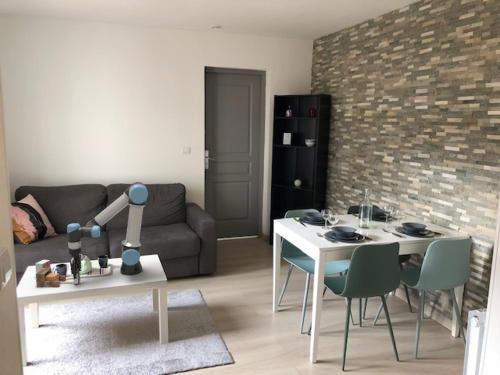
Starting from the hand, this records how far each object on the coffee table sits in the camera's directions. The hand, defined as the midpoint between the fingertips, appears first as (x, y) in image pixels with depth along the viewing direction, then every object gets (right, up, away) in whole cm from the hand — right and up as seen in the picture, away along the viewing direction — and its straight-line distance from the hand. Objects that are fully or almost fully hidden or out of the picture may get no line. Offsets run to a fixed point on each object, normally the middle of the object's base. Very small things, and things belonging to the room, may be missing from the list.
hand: (77, 282), depth 270 cm
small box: (-28, +1, +12) cm, 30 cm away
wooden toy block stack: (-16, -1, 0) cm, 17 cm away
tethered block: (-9, -1, 0) cm, 9 cm away
